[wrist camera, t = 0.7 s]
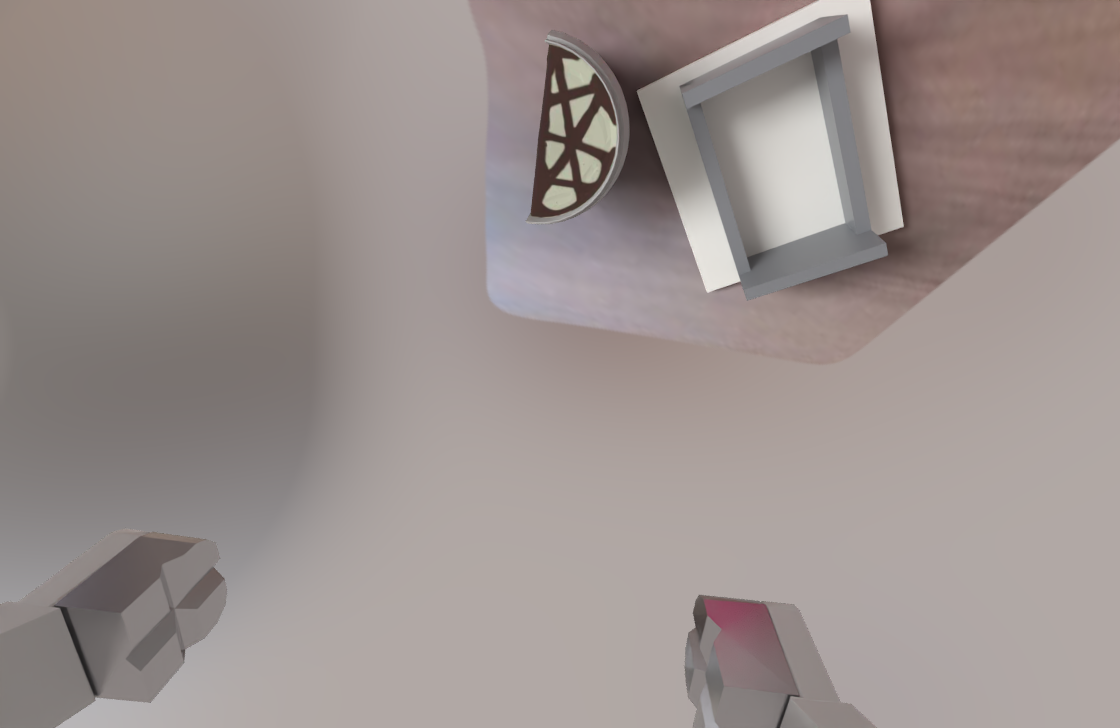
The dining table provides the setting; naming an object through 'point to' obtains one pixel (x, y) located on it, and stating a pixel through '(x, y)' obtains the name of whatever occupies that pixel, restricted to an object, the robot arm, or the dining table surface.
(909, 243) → the dining table surface
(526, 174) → the dining table surface
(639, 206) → the dining table surface
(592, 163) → the food container
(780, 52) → the slot stand
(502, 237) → the dining table surface
